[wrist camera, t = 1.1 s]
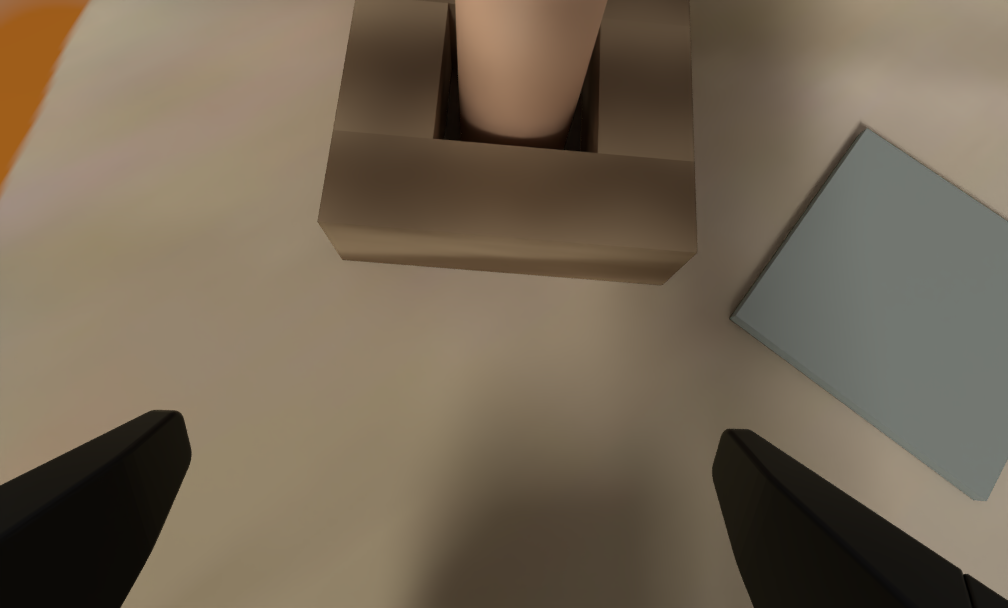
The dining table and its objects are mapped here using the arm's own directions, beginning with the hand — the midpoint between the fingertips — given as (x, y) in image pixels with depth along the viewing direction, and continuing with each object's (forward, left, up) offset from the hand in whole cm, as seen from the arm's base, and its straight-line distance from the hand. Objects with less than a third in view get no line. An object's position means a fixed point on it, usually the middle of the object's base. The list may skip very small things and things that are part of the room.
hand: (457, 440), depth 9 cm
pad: (-5, -20, -13) cm, 25 cm away
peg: (+11, -9, -13) cm, 20 cm away
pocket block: (+11, -9, -13) cm, 20 cm away
